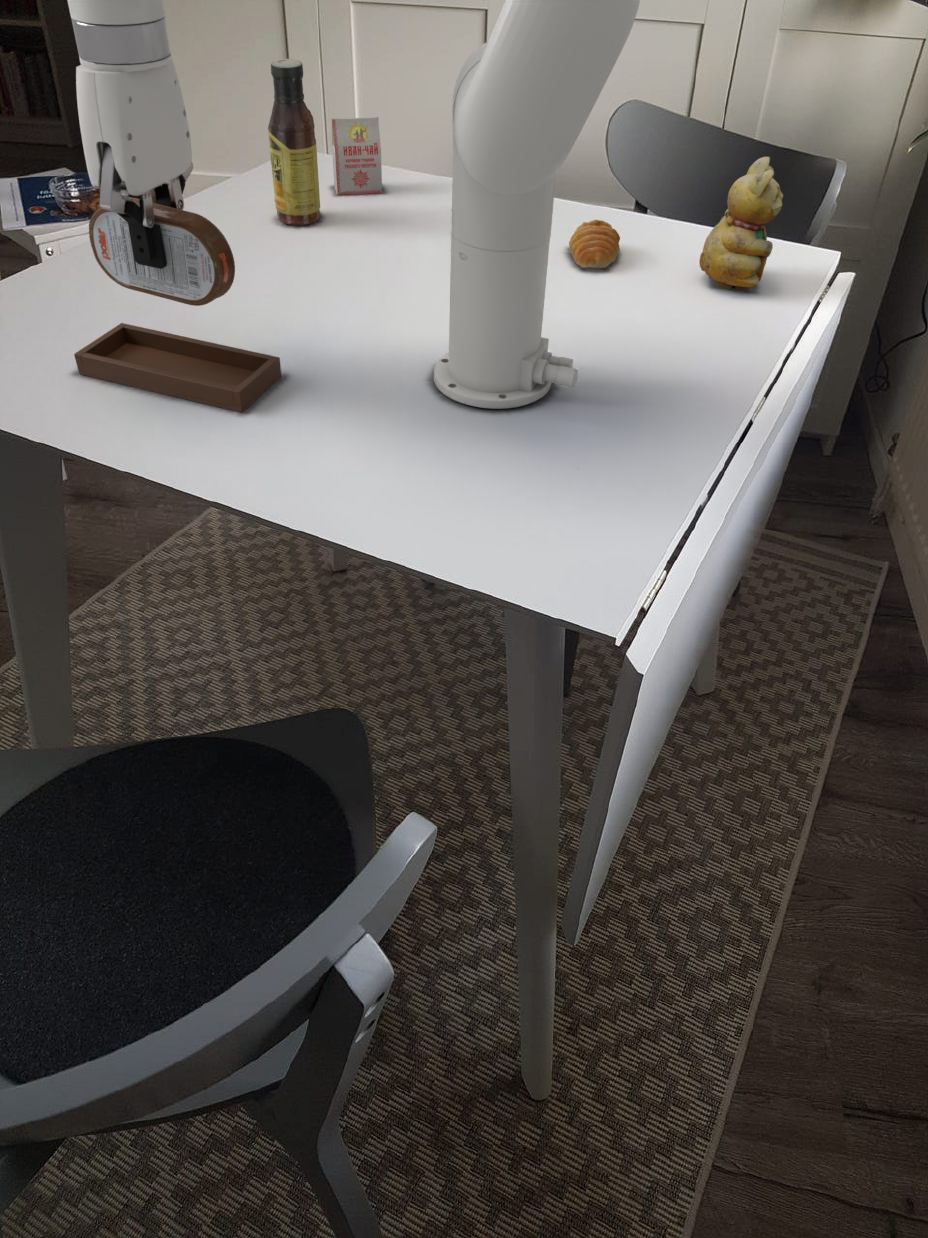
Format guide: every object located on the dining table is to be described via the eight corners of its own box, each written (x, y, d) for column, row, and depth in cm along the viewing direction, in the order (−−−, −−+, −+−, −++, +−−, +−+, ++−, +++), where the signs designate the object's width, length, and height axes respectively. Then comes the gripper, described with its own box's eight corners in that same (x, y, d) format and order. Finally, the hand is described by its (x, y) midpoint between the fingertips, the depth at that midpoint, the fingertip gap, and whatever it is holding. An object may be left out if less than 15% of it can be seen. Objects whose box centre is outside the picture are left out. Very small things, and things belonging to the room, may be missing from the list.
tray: (282, 377, 101) (279, 357, 100) (242, 412, 95) (239, 392, 94) (125, 342, 106) (121, 322, 104) (79, 374, 100) (73, 353, 99)
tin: (238, 306, 94) (234, 218, 89) (221, 316, 92) (216, 226, 87) (110, 274, 98) (98, 187, 93) (90, 283, 95) (77, 194, 90)
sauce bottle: (277, 211, 137) (262, 54, 124) (321, 211, 138) (310, 54, 125) (275, 228, 132) (259, 66, 119) (321, 228, 133) (310, 67, 120)
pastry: (619, 274, 124) (623, 244, 122) (567, 271, 125) (570, 242, 122) (617, 247, 131) (621, 218, 129) (568, 244, 131) (571, 216, 129)
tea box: (334, 186, 146) (330, 115, 139) (378, 184, 147) (376, 113, 140) (337, 194, 143) (333, 122, 137) (382, 192, 144) (380, 120, 138)
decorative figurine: (766, 300, 119) (798, 174, 109) (700, 297, 120) (725, 170, 110) (753, 270, 127) (782, 148, 117) (691, 266, 127) (714, 145, 117)
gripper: (142, 20, 87) (176, 225, 99) (20, 56, 76) (76, 283, 88) (214, 29, 85) (239, 237, 97) (100, 67, 74) (145, 297, 86)
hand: (161, 257), depth 93 cm, fingers closed on tin, 2 cm apart
